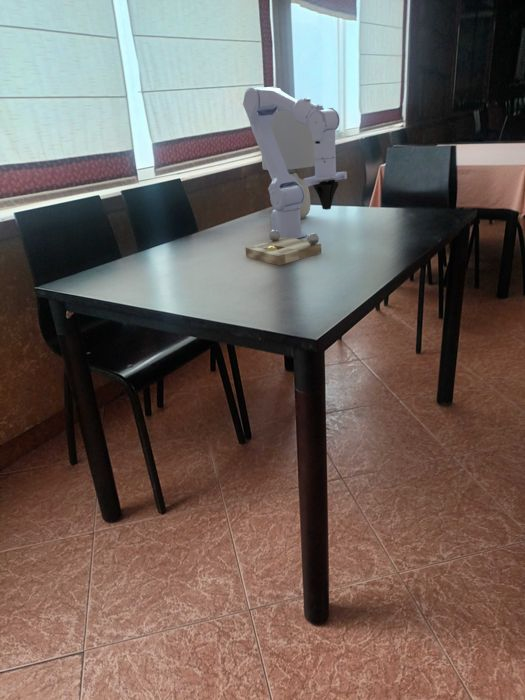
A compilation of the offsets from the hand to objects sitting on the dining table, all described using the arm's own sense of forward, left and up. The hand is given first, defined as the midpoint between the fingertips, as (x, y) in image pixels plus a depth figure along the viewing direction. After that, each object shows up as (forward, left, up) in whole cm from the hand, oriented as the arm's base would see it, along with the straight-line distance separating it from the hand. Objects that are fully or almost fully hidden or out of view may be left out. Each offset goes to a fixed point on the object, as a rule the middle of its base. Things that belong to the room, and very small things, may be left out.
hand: (326, 209), depth 140 cm
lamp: (-39, +20, -10) cm, 45 cm away
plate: (-1, -16, -10) cm, 19 cm away
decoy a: (-8, -13, -6) cm, 16 cm away
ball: (-2, -19, -8) cm, 21 cm away
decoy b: (+5, -10, -6) cm, 13 cm away
